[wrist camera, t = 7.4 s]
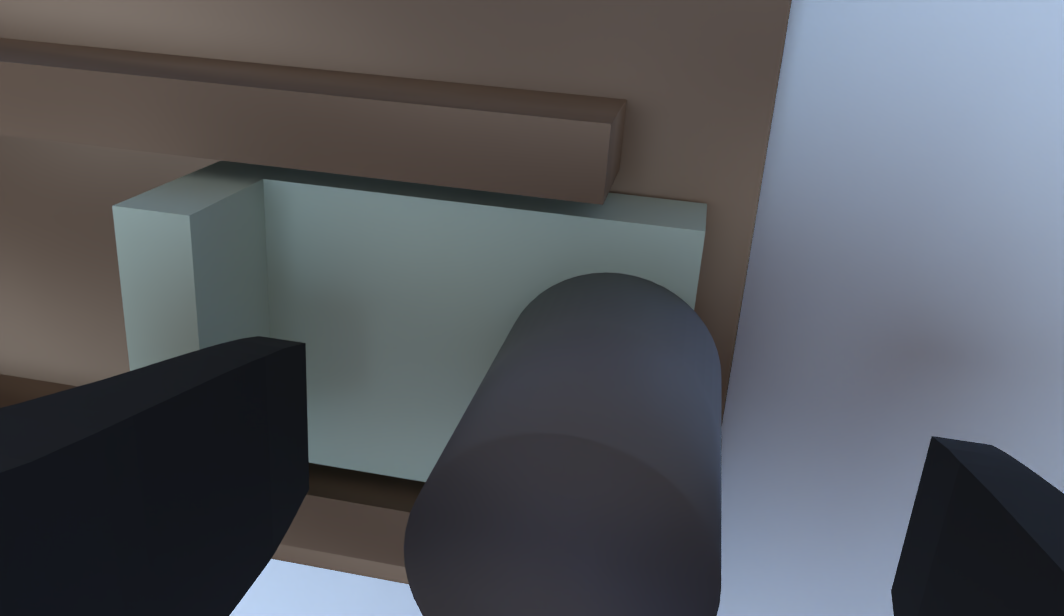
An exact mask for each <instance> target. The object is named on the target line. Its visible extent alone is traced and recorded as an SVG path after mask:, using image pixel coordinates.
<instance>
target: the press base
mask: <svg viewBox="0 0 1064 616" xmlns="http://www.w3.org/2000/svg"><path fill="white" fill-rule="evenodd" d="M791 1H792V0H0V408H2V407H6V406H10V405H14V404H18V403H21V402H25V401H28V400H32V399H36V398H39V397H43V396H46V395H50V394H53V393H57V392H60V391H64V390H68V389H71V388H75V387H78V386H82V385H85V384H89V383H92V382H96V381H100V380H103V379H106V378H110V377H113V376H116V375H119V374H122V373H126V372H129V371H130V367H129V357H128V348H127V339H126V330H125V320H124V311H123V302H122V293H121V283H120V274H119V265H118V256H117V246H116V237H115V228H114V219H113V209H112V206H113V205H115V204H118V203H120V202H123V201H125V200H127V199H130V198H132V197H135V196H137V195H139V194H142V193H144V192H147V191H149V190H151V189H154V188H156V187H159V186H161V185H163V184H166V183H168V182H171V181H173V180H175V179H178V178H180V177H183V176H185V175H187V174H190V173H192V172H195V171H197V170H199V169H202V168H204V167H207V166H209V165H211V164H214V163H216V162H219V161H230V162H239V163H247V164H256V165H264V166H273V167H282V168H290V169H299V170H307V171H316V172H325V173H333V174H342V175H350V176H359V177H367V178H376V179H385V180H393V181H402V182H410V183H419V184H428V185H436V186H445V187H453V188H462V189H471V190H479V191H488V192H496V193H505V194H514V195H522V196H531V197H539V198H548V199H557V200H565V201H574V202H582V203H591V204H600V205H603V204H604V202H605V200H606V197H607V195H608V193H617V194H626V195H635V196H644V197H652V198H661V199H670V200H679V201H688V202H696V203H705V204H707V214H706V231H705V238H704V245H703V252H702V259H701V266H700V273H699V280H698V287H697V294H696V301H695V308H694V311H695V312H696V313H697V314H698V315H699V317H700V318H701V320H702V321H703V322H704V324H705V325H706V327H707V328H708V330H709V332H710V334H711V336H712V338H713V340H714V343H715V346H716V348H717V351H718V355H719V360H720V365H721V426H722V420H723V414H724V408H725V401H726V395H727V389H728V383H729V377H730V371H731V365H732V359H733V353H734V347H735V341H736V335H737V329H738V323H739V317H740V310H741V304H742V298H743V292H744V286H745V280H746V274H747V268H748V262H749V256H750V250H751V244H752V238H753V232H754V225H755V219H756V213H757V207H758V201H759V195H760V189H761V183H762V177H763V171H764V165H765V159H766V153H767V147H768V140H769V134H770V128H771V122H772V116H773V110H774V104H775V98H776V92H777V86H778V80H779V74H780V68H781V62H782V55H783V49H784V43H785V37H786V31H787V25H788V19H789V13H790V7H791ZM424 484H425V482H422V481H416V480H410V479H404V478H398V477H392V476H386V475H380V474H374V473H368V472H362V471H356V470H350V469H344V468H338V467H332V466H327V465H321V464H315V463H309V490H308V492H307V494H306V496H305V498H304V500H303V502H302V504H301V506H300V508H299V510H298V512H297V514H296V516H295V518H294V520H293V521H292V523H291V525H290V527H289V529H288V531H287V532H286V534H285V536H284V538H283V539H282V541H281V543H280V545H279V547H278V548H277V550H276V552H275V554H274V555H273V557H272V558H271V559H276V560H281V561H287V562H292V563H298V564H303V565H308V566H314V567H319V568H325V569H330V570H335V571H341V572H346V573H351V574H357V575H362V576H368V577H373V578H378V579H384V580H389V581H394V582H400V583H405V584H409V583H408V579H407V574H406V569H405V563H404V538H405V530H406V526H407V522H408V518H409V514H410V512H411V510H412V507H413V505H414V503H415V501H416V498H417V497H418V495H419V493H420V491H421V489H422V488H423V486H424Z"/></svg>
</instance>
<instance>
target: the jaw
mask: <svg viewBox="0 0 1064 616" xmlns="http://www.w3.org/2000/svg"><path fill="white" fill-rule="evenodd" d="M112 209H113V219H114V228H115V237H116V246H117V256H118V265H119V274H120V283H121V293H122V302H123V311H124V320H125V330H126V339H127V348H128V357H129V367H130V371H132V370H135V369H138V368H142V367H145V366H148V365H151V364H154V363H158V362H161V361H164V360H167V359H170V358H174V357H177V356H180V355H183V354H187V353H190V352H193V351H197V350H200V349H203V348H207V347H210V346H214V345H218V344H221V343H225V342H229V341H233V340H238V339H242V338H249V337H255V336H262V337H269V338H275V339H282V340H289V341H295V342H302V343H306V380H307V419H308V457H309V463H315V464H321V465H327V466H332V467H338V468H344V469H350V470H356V471H362V472H368V473H374V474H380V475H386V476H392V477H398V478H404V479H410V480H416V481H422V482H425V484H424V486H423V488H422V489H421V491H420V493H419V495H418V497H417V498H416V501H415V503H414V505H413V507H412V510H411V512H410V514H409V518H408V522H407V526H406V530H405V538H404V563H405V569H406V574H407V579H408V583H409V586H410V588H411V591H412V594H413V597H414V599H415V601H416V603H417V605H418V607H419V609H420V611H421V613H422V615H423V616H716V615H717V611H718V608H719V603H720V592H721V365H720V360H719V355H718V351H717V348H716V346H715V343H714V340H713V338H712V336H711V334H710V332H709V330H708V328H707V327H706V325H705V324H704V322H703V321H702V320H701V318H700V317H699V315H698V314H697V313H696V312H695V311H694V308H695V301H696V294H697V287H698V280H699V273H700V266H701V259H702V252H703V245H704V238H705V231H706V214H707V204H705V203H696V202H688V201H679V200H670V199H661V198H652V197H644V196H635V195H626V194H617V193H608V195H607V197H606V200H605V202H604V204H603V205H600V204H591V203H582V202H574V201H565V200H557V199H548V198H539V197H531V196H522V195H514V194H505V193H496V192H488V191H479V190H471V189H462V188H453V187H445V186H436V185H428V184H419V183H410V182H402V181H393V180H385V179H376V178H367V177H359V176H350V175H342V174H333V173H325V172H316V171H307V170H299V169H290V168H282V167H273V166H264V165H256V164H247V163H239V162H230V161H219V162H216V163H214V164H211V165H209V166H207V167H204V168H202V169H199V170H197V171H195V172H192V173H190V174H187V175H185V176H183V177H180V178H178V179H175V180H173V181H171V182H168V183H166V184H163V185H161V186H159V187H156V188H154V189H151V190H149V191H147V192H144V193H142V194H139V195H137V196H135V197H132V198H130V199H127V200H125V201H123V202H120V203H118V204H115V205H113V206H112Z"/></svg>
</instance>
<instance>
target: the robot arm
mask: <svg viewBox="0 0 1064 616" xmlns="http://www.w3.org/2000/svg"><path fill="white" fill-rule="evenodd" d="M308 490H309V457H308V419H307V380H306V343H302V342H295V341H289V340H282V339H275V338H269V337H262V336H255V337H249V338H242V339H238V340H233V341H229V342H225V343H221V344H218V345H214V346H210V347H207V348H203V349H200V350H197V351H193V352H190V353H187V354H183V355H180V356H177V357H174V358H170V359H167V360H164V361H161V362H158V363H154V364H151V365H148V366H145V367H142V368H138V369H135V370H132V371H129V372H126V373H122V374H119V375H116V376H113V377H110V378H106V379H103V380H100V381H96V382H92V383H89V384H85V385H82V386H78V387H75V388H71V389H68V390H64V391H60V392H57V393H53V394H50V395H46V396H43V397H39V398H36V399H32V400H28V401H25V402H21V403H18V404H14V405H10V406H6V407H2V408H0V616H229V615H230V614H231V612H232V611H233V610H234V609H235V607H236V606H237V605H238V603H239V602H240V600H241V599H242V598H243V596H244V595H245V594H246V592H247V591H248V590H249V588H250V587H251V586H252V584H253V583H254V582H255V580H256V579H257V577H258V576H259V575H260V573H261V572H262V571H263V569H264V568H265V566H266V565H267V564H268V562H269V561H270V559H271V558H272V557H273V555H274V554H275V552H276V550H277V548H278V547H279V545H280V543H281V541H282V539H283V538H284V536H285V534H286V532H287V531H288V529H289V527H290V525H291V523H292V521H293V520H294V518H295V516H296V514H297V512H298V510H299V508H300V506H301V504H302V502H303V500H304V498H305V496H306V494H307V492H308ZM891 593H892V602H893V611H894V616H1064V494H1063V493H1062V492H1061V491H1059V490H1058V489H1057V488H1055V487H1054V486H1052V485H1051V484H1050V483H1048V482H1047V481H1046V480H1044V479H1043V478H1042V477H1040V476H1039V475H1037V474H1036V473H1035V472H1033V471H1032V470H1030V469H1029V468H1028V467H1026V466H1025V465H1023V464H1022V463H1020V462H1019V461H1017V460H1016V459H1014V458H1013V457H1011V456H1010V455H1008V454H1007V453H1005V452H1003V451H1001V450H1000V449H998V448H996V447H994V446H992V445H987V444H980V443H974V442H967V441H960V440H954V439H947V438H940V437H933V436H932V438H931V441H930V445H929V449H928V453H927V457H926V460H925V464H924V468H923V472H922V476H921V479H920V483H919V487H918V491H917V495H916V499H915V502H914V506H913V510H912V514H911V518H910V521H909V525H908V529H907V533H906V537H905V540H904V544H903V548H902V552H901V556H900V560H899V563H898V567H897V571H896V575H895V579H894V582H893V586H892V590H891Z"/></svg>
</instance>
